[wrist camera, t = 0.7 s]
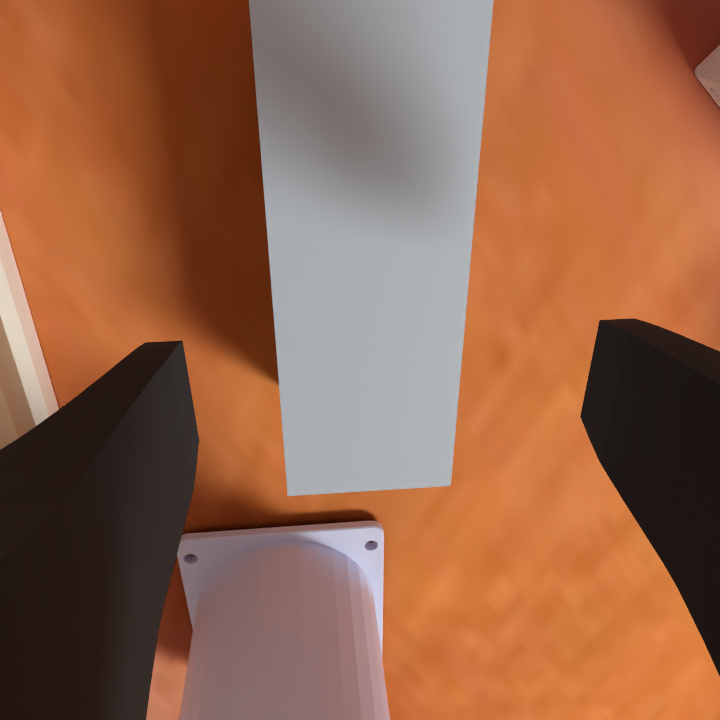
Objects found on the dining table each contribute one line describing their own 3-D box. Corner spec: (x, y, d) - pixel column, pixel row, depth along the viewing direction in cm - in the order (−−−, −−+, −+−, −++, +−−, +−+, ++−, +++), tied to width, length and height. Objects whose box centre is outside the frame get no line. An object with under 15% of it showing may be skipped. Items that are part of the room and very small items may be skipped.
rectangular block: (417, 381, 22) (450, 485, 18) (289, 387, 22) (288, 495, 17) (437, -14, 16) (494, -15, 12) (261, -13, 16) (247, -15, 11)
